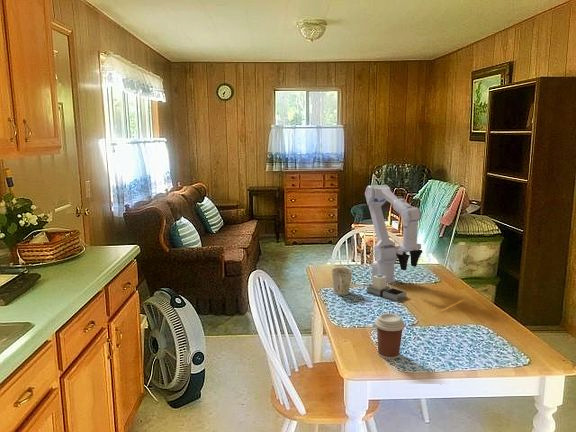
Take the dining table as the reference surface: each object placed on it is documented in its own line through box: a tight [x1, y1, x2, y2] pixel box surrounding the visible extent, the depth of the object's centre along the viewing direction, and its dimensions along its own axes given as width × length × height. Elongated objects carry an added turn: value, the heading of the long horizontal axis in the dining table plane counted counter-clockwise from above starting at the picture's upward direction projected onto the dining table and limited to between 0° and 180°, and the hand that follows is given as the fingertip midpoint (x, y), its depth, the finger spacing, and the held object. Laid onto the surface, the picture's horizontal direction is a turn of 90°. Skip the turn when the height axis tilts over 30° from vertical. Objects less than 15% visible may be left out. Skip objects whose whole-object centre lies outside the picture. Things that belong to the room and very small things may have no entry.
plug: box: [371, 274, 387, 290], centre depth 202 cm, size 4×4×8 cm
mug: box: [331, 267, 353, 296], centre depth 200 cm, size 8×13×10 cm, turn 174°
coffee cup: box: [374, 312, 406, 360], centre depth 148 cm, size 9×9×12 cm
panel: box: [365, 284, 408, 303], centre depth 200 cm, size 15×9×3 cm, turn 43°
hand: (408, 268), depth 204 cm, fingers open, 7 cm apart
